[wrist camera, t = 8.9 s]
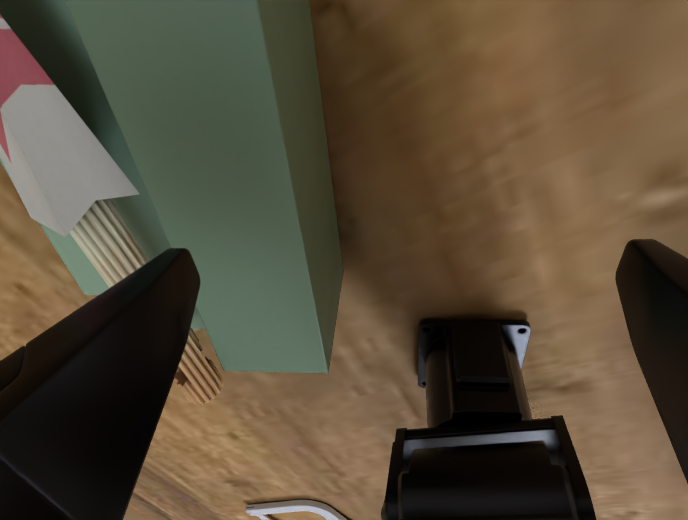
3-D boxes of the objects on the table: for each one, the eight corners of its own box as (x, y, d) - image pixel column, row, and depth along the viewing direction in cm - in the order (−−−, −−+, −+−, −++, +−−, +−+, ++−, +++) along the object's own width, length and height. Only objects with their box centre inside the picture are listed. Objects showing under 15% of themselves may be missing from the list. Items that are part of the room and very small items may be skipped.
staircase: (343, 271, 26) (328, 374, 21) (101, 272, 28) (31, 366, 23) (290, -151, 15) (226, -160, 9) (-113, -97, 17) (-353, -80, 11)
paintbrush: (-233, -175, 9) (203, 428, 20) (-75, -184, 10) (250, 384, 22) (-222, -115, 11) (161, 392, 23) (-96, -130, 13) (205, 354, 24)
